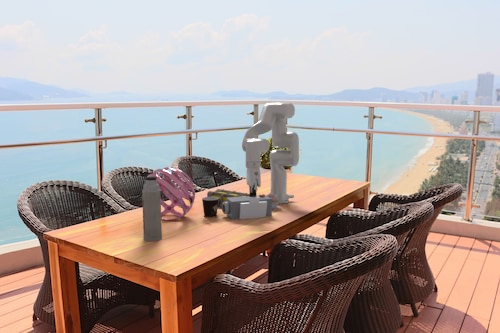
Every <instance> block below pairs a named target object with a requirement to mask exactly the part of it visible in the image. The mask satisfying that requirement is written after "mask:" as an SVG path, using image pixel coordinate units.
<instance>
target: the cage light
mask: <svg viewBox="0 0 500 333" xmlns="http://www.w3.org/2000/svg"><path fill="white" fill-rule="evenodd" d="M244 196H250V193H248V192H240V191H239V192H238V191H236V190H226V189H223V188H222V189H218V188H217V189H216V190H214V191H212V190H208V192H207V195H206V197H217V198H219V199H220V201H221V203H220V205H219V202H220V201H219V200H218V205H219V207H218V209H219V208H220V209H222V204H223V202H226V198H229V197H244Z"/></svg>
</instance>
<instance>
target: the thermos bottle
mask: <svg viewBox="0 0 500 333" xmlns="http://www.w3.org/2000/svg"><path fill="white" fill-rule="evenodd" d="M156 179H157V177H147V176H146V177H145V180H146V181H145V182H144V184H143V187H142V188H143V189H142V190H141V194H142V195H141V196H142V197H141V198H142V223H143V224H142V225H143V227H142V228H143V232H142V233H143V241H145V242H156V241H157V242H158V241H160V240H162V238H163V235H162V233H163V232H162V231H163V230H162V220H161V218H162V216H161V212H162V205H161V199H162V197H161V196H162V195H161V193H162V191H161V190H160V189H159V184H157V180H156Z"/></svg>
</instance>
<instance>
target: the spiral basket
mask: <svg viewBox="0 0 500 333" xmlns="http://www.w3.org/2000/svg"><path fill="white" fill-rule="evenodd" d="M168 170H170V171H172V172H169V171H168ZM158 172H159V173H162V176H163V177H164V178H163V177H161V176H159V175H158ZM146 177H157V179H156V180H157V184H159V189H160V191H161V193H162V194H163V195H164V196H165V197H166V198H167V199H168V200H169V201H170V202H171V203H170V204H168V203H166V202H165V201H164V200H163V199H162V198H161V207H162V208H164V210H163V211H161V221H166V222H171V221H177V220H179V219H181V218H183V217H185V216H186V215H187V214H188V213H189V212H190V210H191V209H192V207H193V206H194V202H195V199H196V191H195V185H194V182H193V181H192V179H191V178H190V176H189V175H188V174H186V172H184V171H183V170H181V169H179V168H173V167H171V166H170V167H169V166H168V167H167V166H166V167H164V168H158V169H155V170H153V172H152V173H151V174H150V173H149V174H148V175H147V176H146ZM145 181H146V179H145ZM175 183H176V184H175ZM176 185H178V186H176ZM190 192H192V194H191V193H190ZM184 200H187V201H188V202H189V205H188V204H186V202H185V201H184ZM175 207H178V208H181V209H182V213H181V212H179V211H177V210H175ZM169 213H170V214H172V215H174V216H176V217H174V218H162V217H163V216H165V215H167V214H169Z"/></svg>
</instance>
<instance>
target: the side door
mask: <svg viewBox="0 0 500 333" xmlns="http://www.w3.org/2000/svg"><path fill="white" fill-rule="evenodd" d="M257 196H258V195H257ZM259 198H260V197H259V196H258V197H249V202H248V203H241V204H240V217H239V219H238V220H240V221H241V220H251V219H264V218H267V216H266V210H267V201H261V202H259Z"/></svg>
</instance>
